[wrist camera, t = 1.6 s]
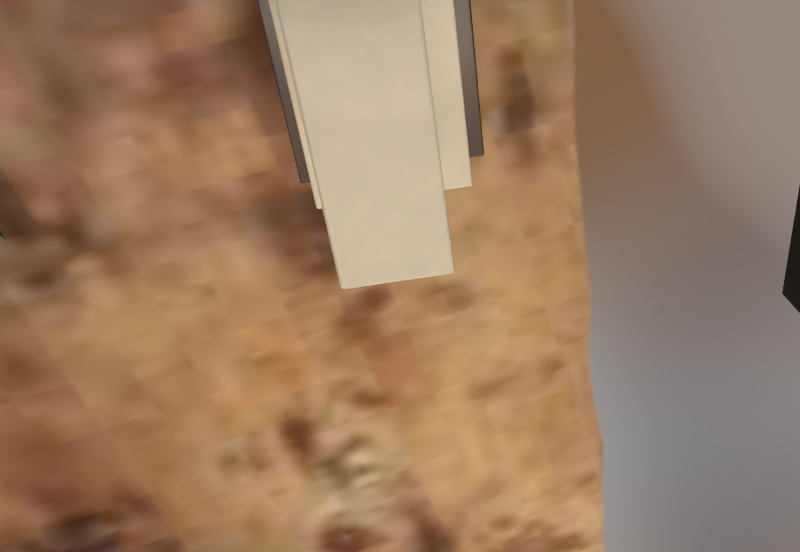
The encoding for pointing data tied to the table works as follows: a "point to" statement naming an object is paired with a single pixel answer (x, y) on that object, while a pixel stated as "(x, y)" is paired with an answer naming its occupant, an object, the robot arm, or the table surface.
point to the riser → (467, 77)
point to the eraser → (378, 128)
